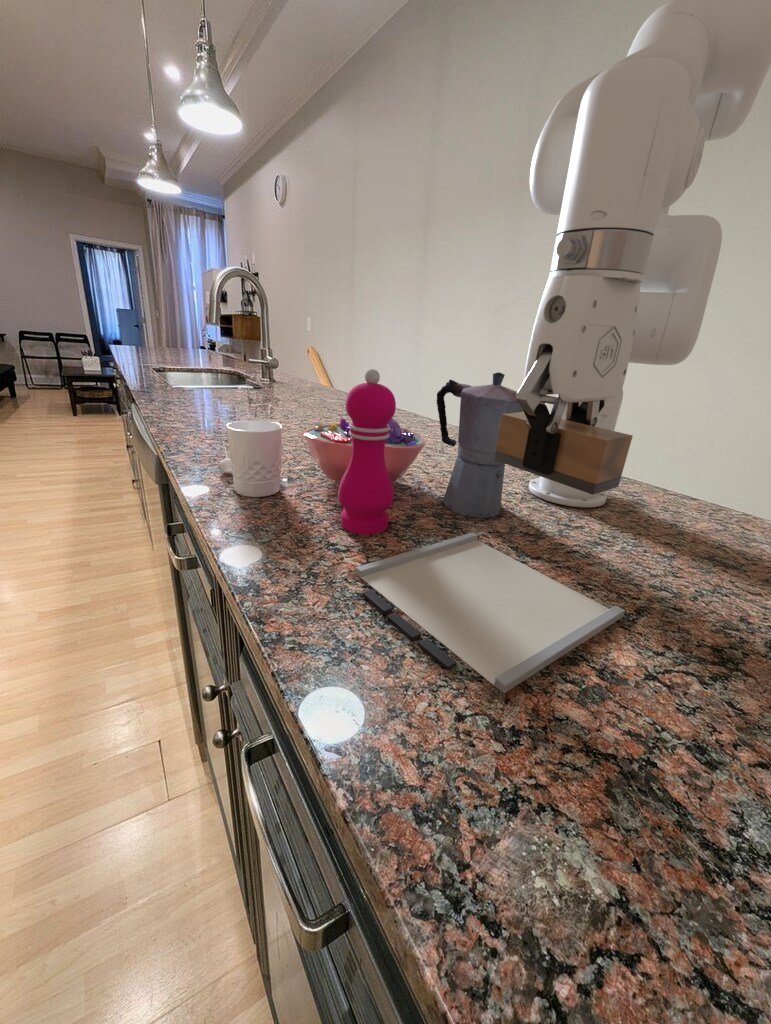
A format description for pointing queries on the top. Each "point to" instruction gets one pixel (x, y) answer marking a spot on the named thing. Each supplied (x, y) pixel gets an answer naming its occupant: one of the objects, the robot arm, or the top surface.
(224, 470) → the macaroon
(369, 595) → the stroke
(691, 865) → the top surface
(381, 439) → the pepper mill
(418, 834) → the top surface
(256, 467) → the white cup
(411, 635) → the stroke
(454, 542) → the memo board
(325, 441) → the cell model
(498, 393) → the moka pot
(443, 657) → the stroke
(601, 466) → the eraser
